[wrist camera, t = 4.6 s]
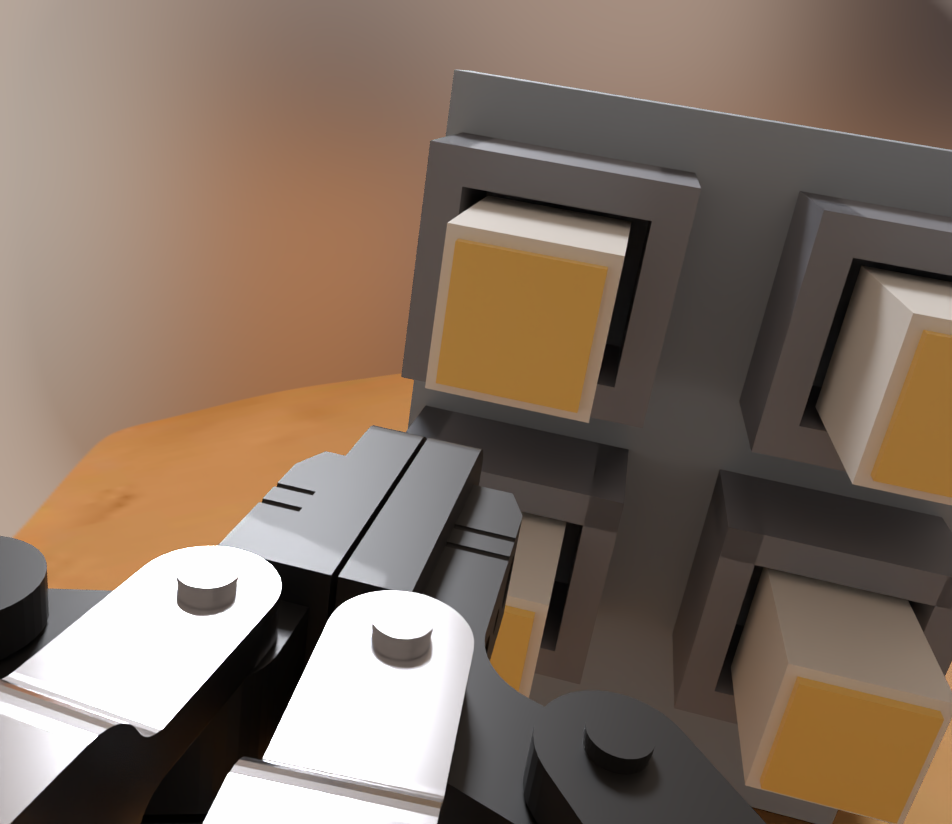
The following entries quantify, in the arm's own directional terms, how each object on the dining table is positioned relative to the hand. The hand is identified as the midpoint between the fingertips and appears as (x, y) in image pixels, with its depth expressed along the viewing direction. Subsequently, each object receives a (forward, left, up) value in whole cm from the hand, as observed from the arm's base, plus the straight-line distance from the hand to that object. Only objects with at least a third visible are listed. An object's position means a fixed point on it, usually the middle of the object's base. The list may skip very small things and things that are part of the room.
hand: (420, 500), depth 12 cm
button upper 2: (-10, -11, -2) cm, 15 cm away
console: (-5, -18, -19) cm, 26 cm away
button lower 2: (-10, -11, -11) cm, 19 cm away
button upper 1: (0, -11, -2) cm, 12 cm away
